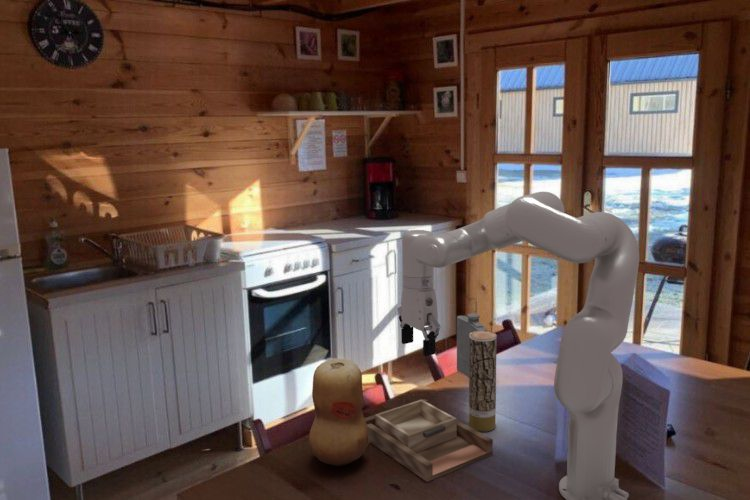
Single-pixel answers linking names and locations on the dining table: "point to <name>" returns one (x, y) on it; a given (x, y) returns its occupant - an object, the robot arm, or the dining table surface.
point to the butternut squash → (338, 413)
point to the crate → (417, 425)
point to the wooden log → (482, 380)
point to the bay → (434, 450)
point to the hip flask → (466, 339)
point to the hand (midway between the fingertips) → (418, 348)
